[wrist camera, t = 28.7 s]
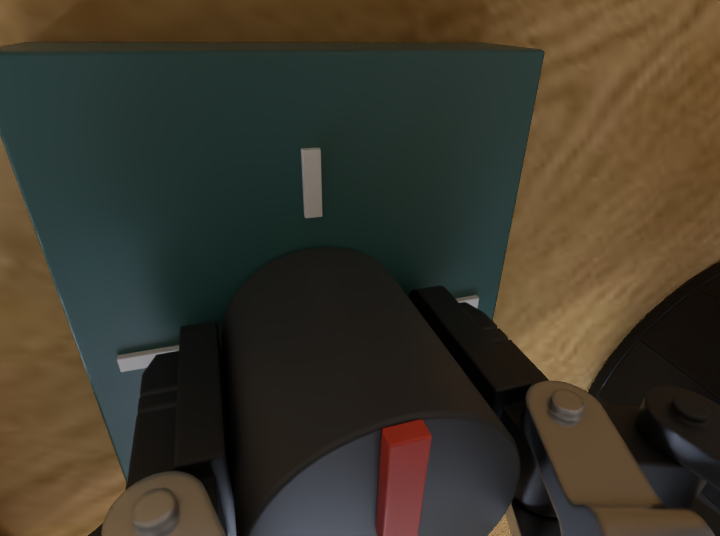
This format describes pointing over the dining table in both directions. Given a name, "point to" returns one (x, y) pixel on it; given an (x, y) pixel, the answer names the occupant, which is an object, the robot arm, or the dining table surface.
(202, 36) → the dining table surface
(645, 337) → the pot
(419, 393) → the hob knob
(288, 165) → the panel
